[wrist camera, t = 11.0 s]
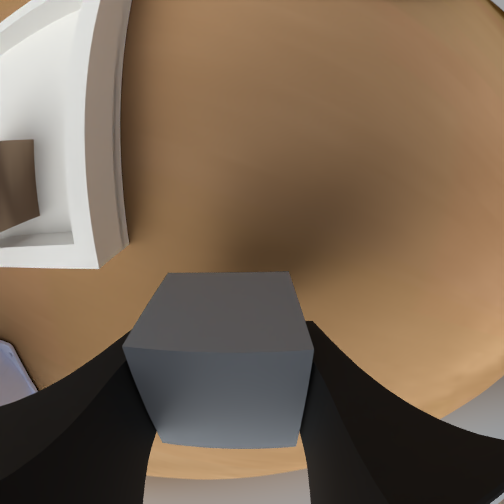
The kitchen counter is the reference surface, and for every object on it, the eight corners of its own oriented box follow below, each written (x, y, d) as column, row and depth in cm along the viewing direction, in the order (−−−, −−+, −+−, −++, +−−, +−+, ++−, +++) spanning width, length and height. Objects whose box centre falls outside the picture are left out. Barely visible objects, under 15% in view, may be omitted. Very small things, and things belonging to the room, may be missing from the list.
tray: (129, 244, 12) (99, 269, 9) (-19, 250, 12) (-45, 265, 9) (135, -14, 7) (113, -41, 4) (-21, 70, 7) (-47, 67, 4)
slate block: (283, 363, 10) (295, 446, 6) (183, 362, 10) (162, 442, 6) (288, 271, 9) (313, 349, 5) (167, 272, 9) (122, 346, 5)
